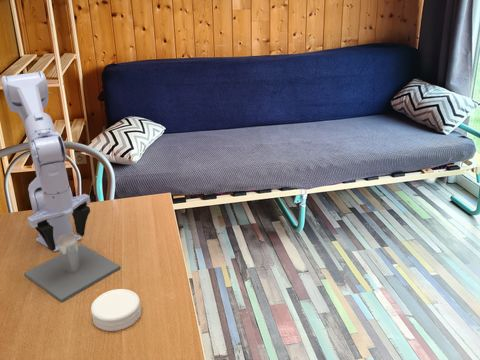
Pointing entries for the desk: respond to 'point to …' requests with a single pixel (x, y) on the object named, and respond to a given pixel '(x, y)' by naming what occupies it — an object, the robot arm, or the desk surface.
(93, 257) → the mat
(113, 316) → the white round tin
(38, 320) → the desk surface
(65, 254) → the milkshake
